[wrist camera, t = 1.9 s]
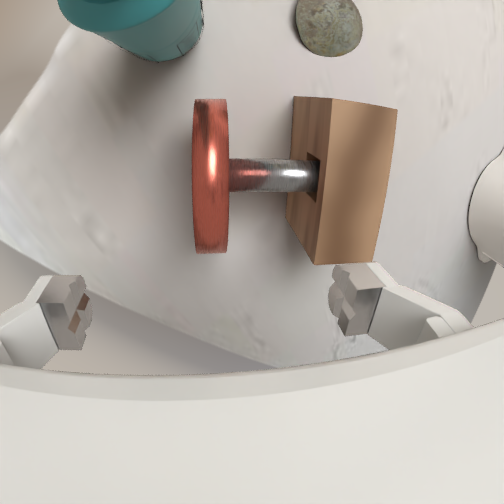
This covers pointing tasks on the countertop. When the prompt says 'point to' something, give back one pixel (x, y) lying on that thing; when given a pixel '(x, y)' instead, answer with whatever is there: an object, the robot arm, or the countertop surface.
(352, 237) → the eye block
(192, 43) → the beverage bottle
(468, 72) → the countertop surface
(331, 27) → the soupspoon
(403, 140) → the countertop surface
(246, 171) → the copper wheel on rod
